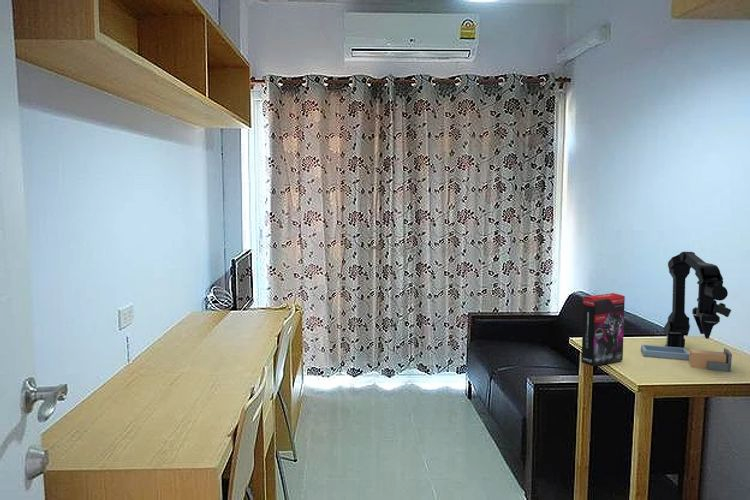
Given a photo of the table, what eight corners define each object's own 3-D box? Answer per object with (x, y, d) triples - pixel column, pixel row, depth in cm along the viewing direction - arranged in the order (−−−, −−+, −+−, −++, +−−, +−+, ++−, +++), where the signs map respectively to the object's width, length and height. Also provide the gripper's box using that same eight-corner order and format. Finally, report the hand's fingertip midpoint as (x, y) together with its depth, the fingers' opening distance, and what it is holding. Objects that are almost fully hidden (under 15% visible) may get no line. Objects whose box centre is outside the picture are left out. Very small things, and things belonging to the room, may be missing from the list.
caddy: (690, 367, 238) (691, 352, 238) (688, 363, 243) (689, 349, 242) (725, 370, 234) (726, 355, 234) (722, 367, 239) (723, 352, 238)
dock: (707, 369, 235) (708, 352, 234) (702, 363, 243) (704, 346, 242) (730, 371, 233) (731, 353, 232) (725, 365, 240) (726, 348, 239)
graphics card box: (592, 367, 237) (596, 299, 233) (579, 362, 243) (582, 295, 239) (623, 361, 244) (626, 295, 241) (609, 357, 251) (612, 292, 247)
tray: (643, 356, 252) (644, 350, 251) (640, 350, 261) (641, 344, 261) (689, 360, 247) (689, 354, 246) (684, 353, 256) (684, 348, 256)
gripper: (736, 301, 225) (733, 342, 226) (723, 294, 243) (721, 333, 244) (702, 299, 229) (700, 340, 230) (693, 293, 246) (691, 331, 247)
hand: (704, 336), depth 238 cm, fingers open, 9 cm apart
